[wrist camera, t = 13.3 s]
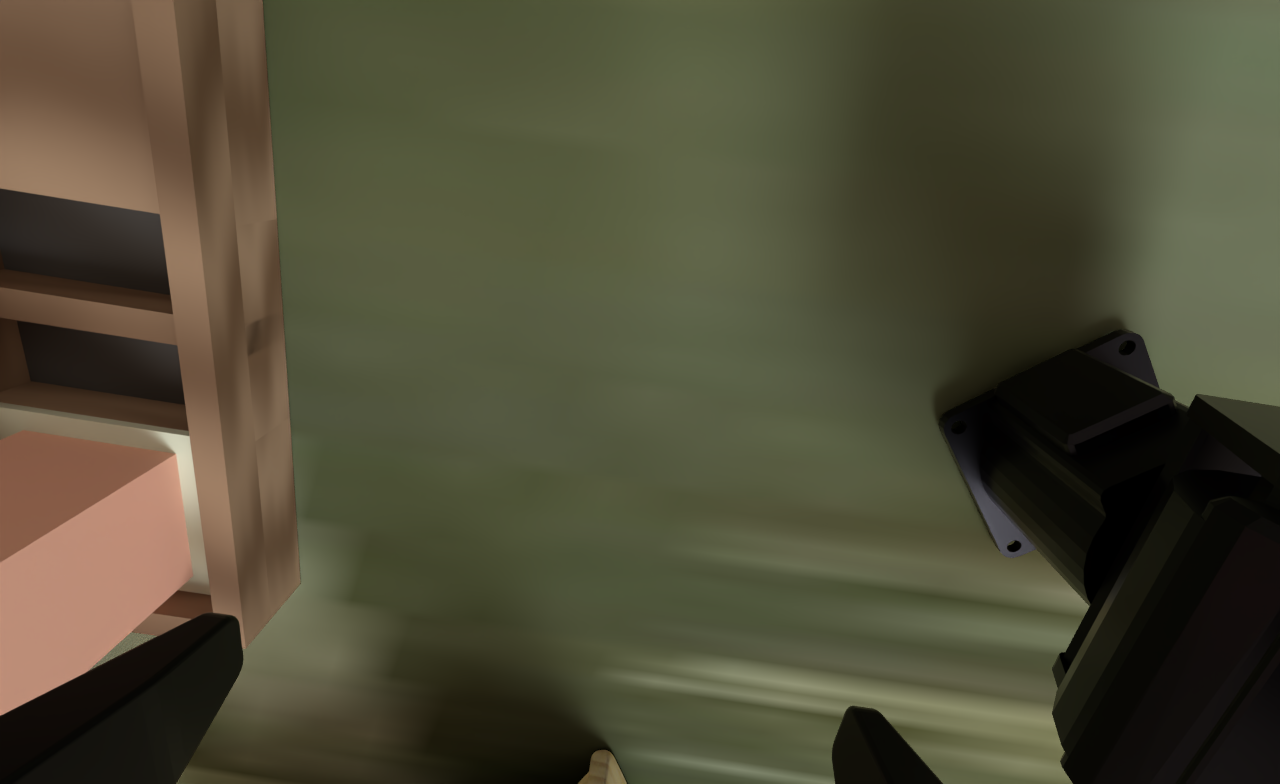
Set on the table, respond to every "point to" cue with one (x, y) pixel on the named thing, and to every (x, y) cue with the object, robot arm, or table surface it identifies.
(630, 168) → the table surface
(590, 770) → the toy sofa
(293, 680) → the table surface
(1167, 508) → the robot arm
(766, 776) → the table surface
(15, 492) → the coral block
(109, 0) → the box
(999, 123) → the table surface
